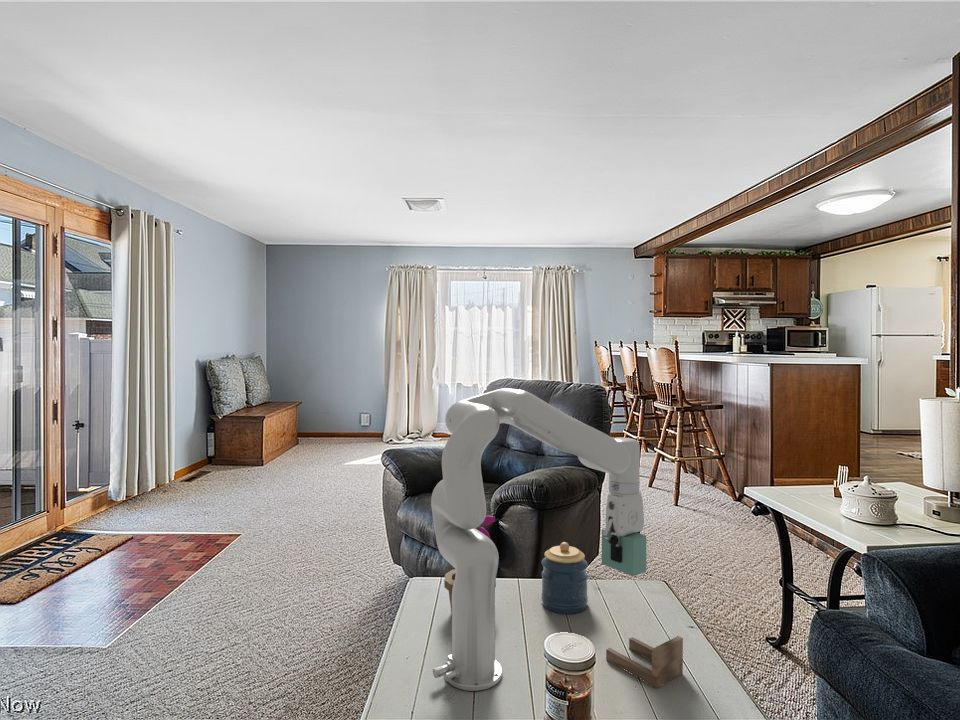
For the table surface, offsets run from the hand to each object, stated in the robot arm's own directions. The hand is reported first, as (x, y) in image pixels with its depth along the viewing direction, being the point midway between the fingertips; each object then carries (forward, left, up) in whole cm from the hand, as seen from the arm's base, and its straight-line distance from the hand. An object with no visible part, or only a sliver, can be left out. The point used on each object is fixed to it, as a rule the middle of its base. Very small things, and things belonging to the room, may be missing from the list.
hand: (623, 557), depth 142 cm
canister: (0, +21, -19) cm, 28 cm away
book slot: (-8, -12, -19) cm, 24 cm away
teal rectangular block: (0, 0, -3) cm, 3 cm away
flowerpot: (-25, +32, -19) cm, 45 cm away
